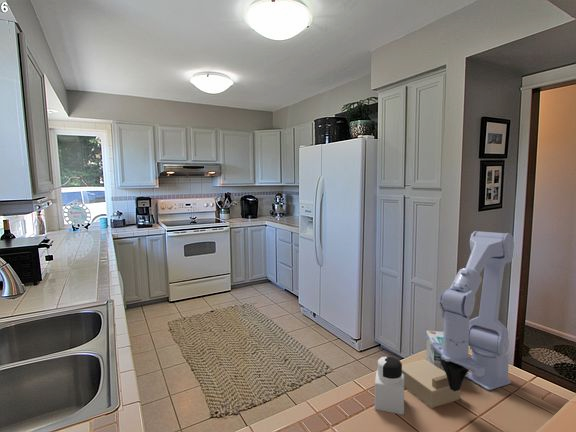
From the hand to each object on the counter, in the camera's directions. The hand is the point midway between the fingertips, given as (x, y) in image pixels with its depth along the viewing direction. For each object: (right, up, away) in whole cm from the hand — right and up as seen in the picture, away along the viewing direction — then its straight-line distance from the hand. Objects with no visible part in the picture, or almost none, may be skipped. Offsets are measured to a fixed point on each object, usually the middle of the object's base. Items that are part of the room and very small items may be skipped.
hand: (455, 389), depth 83 cm
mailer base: (-3, -5, +9) cm, 10 cm away
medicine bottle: (-16, -6, +3) cm, 17 cm away
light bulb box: (+5, -4, +18) cm, 19 cm away
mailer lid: (-3, -1, +9) cm, 9 cm away
